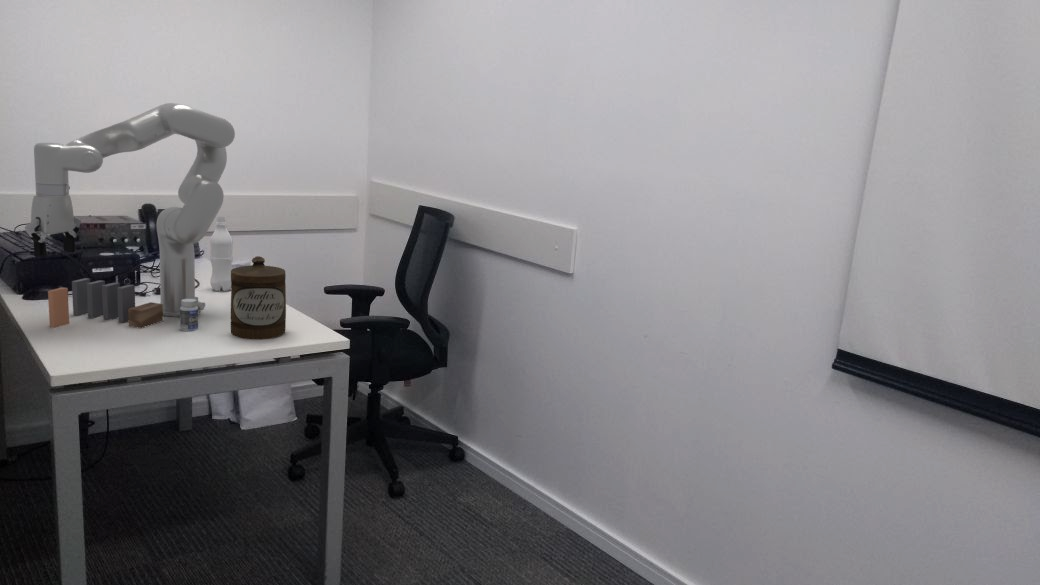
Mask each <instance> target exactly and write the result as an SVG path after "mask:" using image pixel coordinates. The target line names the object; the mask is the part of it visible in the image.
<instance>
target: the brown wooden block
mask: <svg viewBox="0 0 1040 585" xmlns="http://www.w3.org/2000/svg"><path fill="white" fill-rule="evenodd" d="M128 314H129V321H128V327H133V328H137V327H138V328H139V329H143V328H145V326H146V327H149V326H152V325H155V324H157V322H158V323H160V321H161V322H163V321H164V315H163V304H161V303H157V302H146V303H144V304H140V305H137V306H136V305H135V307H133V308H130V309H128ZM154 323H155V324H154ZM151 324H152V325H151ZM148 325H149V326H148ZM142 327H143V328H142Z"/></svg>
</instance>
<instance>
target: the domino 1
mask: <svg viewBox="0 0 1040 585" xmlns="http://www.w3.org/2000/svg"><path fill="white" fill-rule="evenodd" d="M47 300H48V316H49V318H48V320H49V327H51V328H58V327H62V326H64V325H68V324H70V310H69V308H70V307H69V289H68V287H58V288H54V289H50V290H47Z"/></svg>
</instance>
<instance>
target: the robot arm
mask: <svg viewBox="0 0 1040 585" xmlns="http://www.w3.org/2000/svg"><path fill="white" fill-rule="evenodd" d="M173 135H178V136H179V135H180V136H183V137H184V138H188V139H191V140H194V141H195V144H196V148H197V149H196V150H197V152H196V155H195V159H194V160H193V164H192V165H191V166H190V168H189V170H188V172H187V173H186V175H185V177H184V178H183V180H182V182H181V183H180V185H179V187H178V192H177V194H178V198H179V200H180V202H181V203H183V204H184V205H183V206H182V207H178V206H171V207H167V208H165V209H163V210H162V211H161V212H160V213H159V214H158V216H157V219H156V233H157V238H158V239H157V240H158V246H159V247H158V249H159V283H160V284H159V285H160V286H159V287H160V288H159V289H160V291H159V292H160V304H163V317H165V316H166V317H180V307H181V306H182V305H181V300H183V299H196V300H197V305H196V306H197V307H198V314H199V313H200V312H201V311H203V310H204V309H205V307H206V302H201V301H200V302H199V296H196V282H195V281H196V278H195V277H196V275H195V273H196V272H195V267H196V266H195V261H196V260H195V247H194V246H195V245H194V244H197V243H198V242H200V241H201V240H202V239H203V238H204V237H205V236H206V234H207V233H208V231H209V229H210V227H211V226H212V225H213V222H214V220H215V219H216V218H217V216H218V213H219V212H220V210H221V208H222V205H223V203H224V197H225V196H224V190H223V188H222V186H221V185H220V184H219V181H220V180H221V178H222V175H223V173H224V171H225V169H226V165H227V162H228V155H227V154H228V153H227V149H226V148H227V147H228V146H230V145H231V144H232V143H233V141H235V140H234V139H235V135H236V132H235V128H234V126H233V125H232V123H231V122H229V121H228V120H227V119H225V118H223V117H220V116H217V115H214V114H212V113H209V112H205V111H202V110H200V109H196V108H194V107H191V106H188V105H186V104H182V103H174V102H173V103H172V102H167V103H163V104H160V105H158V106H156V107H154V108H151V109H149V110H147V111H145V112H142V113H140V114H137V115H136V116H132V117H131V118H129V119H125V120H124V121H120V122H117V123H114V124H112V125H110V126H107V127H104V128H101V129H98V130H95V131H93V132H90V133H88V134H86V135H84V136H81V137H79V138H76V139H74V140H72V141H70V142H68V143H67V144H66V145H64V144H63V143H62V144H61V143H57V142H56V143H55V142H38V143H36V144H34V146H33V158H34V159H33V160H34V178H35V180H34V182H35V183H34V184H35V195H34V196H33V197H32V202H31V208H30V209H31V211H30V212H31V214H30V222H29V223H28V224H26V225H25V226H24V230H25V231H26V234H27V236H28V238H30V241H31V242H33V255H34V256H35V257H37V258H42V259H43V258H46V257H47V243H46V241H45V240H46V238H47V236H48V235H55V234H56V235H57V234H63V235H64V236H63V238H62V241H63V242H62V243H63V251H64V252H65V253H67V252H68V253H75V252H76V241H75V240H76V238H77V234H78V232H79V230H80V226H81V223H82V222H81V221H82V220H81V219H79V218H76V217H75V216H74V208H73V204H72V203H73V202H72V200H71V199H72V198H71V195H70V190H71V187H70V185H69V184H70V183H69V172H76V173H77V172H78V173H84V174H85V173H87V174H89V173H94V172H96V171H98V170H99V169H100V168H101V167H102V165H103V162H104V158H107V157H110V156H113V155H117V154H122V153H131V152H136V151H140V150H142V149H145V148H147V147H150V146H151V145H153V144H156V143H158V142H160V141H162V140H164V139H166V138H169V137H170V136H173ZM44 241H45V242H44Z"/></svg>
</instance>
